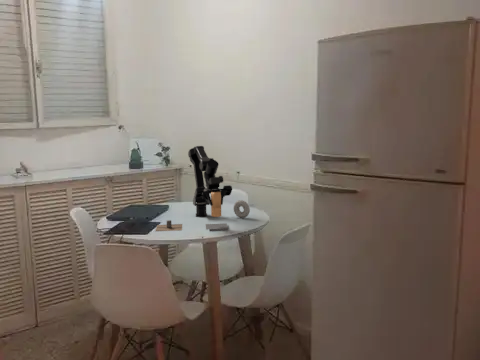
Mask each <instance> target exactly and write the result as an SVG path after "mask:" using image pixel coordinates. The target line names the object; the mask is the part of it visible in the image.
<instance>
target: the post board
mask: <svg viewBox="0 0 480 360" xmlns="http://www.w3.org/2000/svg"><path fill="white" fill-rule="evenodd" d="M182 230H183V223H180V224H179V223H178V224H177V223H176V224H172V220H171V219H167V220H166V224H156V228H155V232H170V231H173V232H175V231H182Z"/></svg>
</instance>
